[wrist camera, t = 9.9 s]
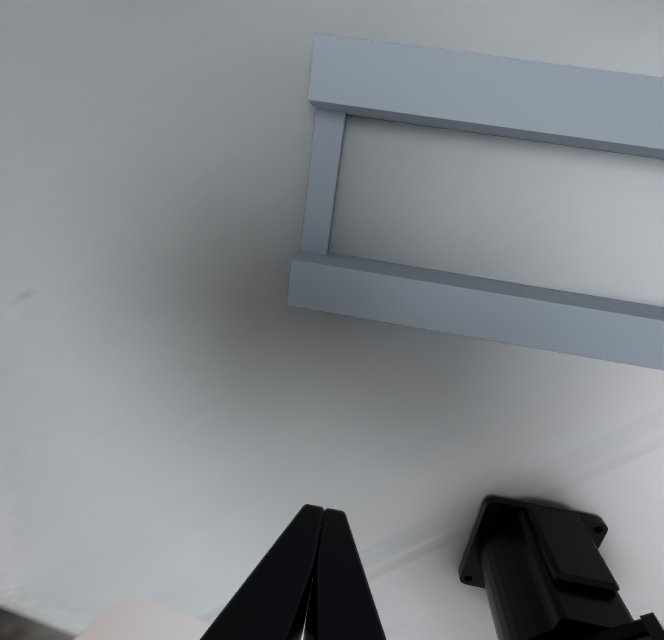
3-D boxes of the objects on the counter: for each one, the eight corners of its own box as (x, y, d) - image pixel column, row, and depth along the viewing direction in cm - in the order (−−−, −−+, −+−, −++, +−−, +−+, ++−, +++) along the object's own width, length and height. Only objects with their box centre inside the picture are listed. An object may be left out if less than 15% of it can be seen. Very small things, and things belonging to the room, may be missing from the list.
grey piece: (682, 354, 18) (727, 381, 16) (298, 289, 19) (286, 305, 17) (804, 117, 14) (885, 106, 12) (324, 54, 16) (314, 33, 13)
